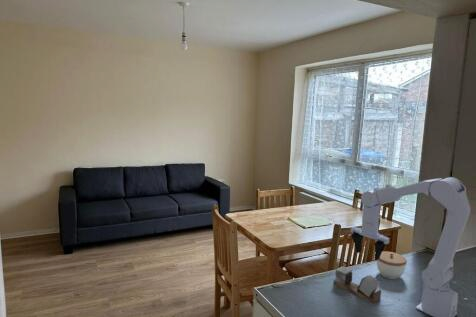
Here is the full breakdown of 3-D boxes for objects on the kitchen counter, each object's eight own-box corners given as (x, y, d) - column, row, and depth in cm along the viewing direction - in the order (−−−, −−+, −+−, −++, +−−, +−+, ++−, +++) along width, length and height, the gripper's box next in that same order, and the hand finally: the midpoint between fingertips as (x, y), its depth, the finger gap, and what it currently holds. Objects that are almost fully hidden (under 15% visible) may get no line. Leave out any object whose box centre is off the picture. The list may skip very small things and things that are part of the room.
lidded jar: (397, 285, 120) (399, 262, 118) (370, 274, 128) (371, 252, 127) (409, 276, 127) (411, 254, 125) (383, 266, 135) (384, 245, 133)
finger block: (374, 293, 112) (379, 282, 110) (368, 297, 110) (373, 286, 108) (363, 284, 115) (368, 273, 114) (357, 287, 113) (362, 277, 111)
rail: (380, 298, 111) (381, 283, 110) (373, 303, 108) (375, 287, 107) (340, 279, 123) (341, 265, 123) (333, 283, 121) (334, 269, 120)
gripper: (394, 224, 117) (391, 259, 119) (358, 214, 128) (356, 246, 130) (385, 229, 113) (381, 265, 115) (348, 217, 124) (346, 251, 126)
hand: (367, 255), depth 122 cm, fingers open, 7 cm apart
